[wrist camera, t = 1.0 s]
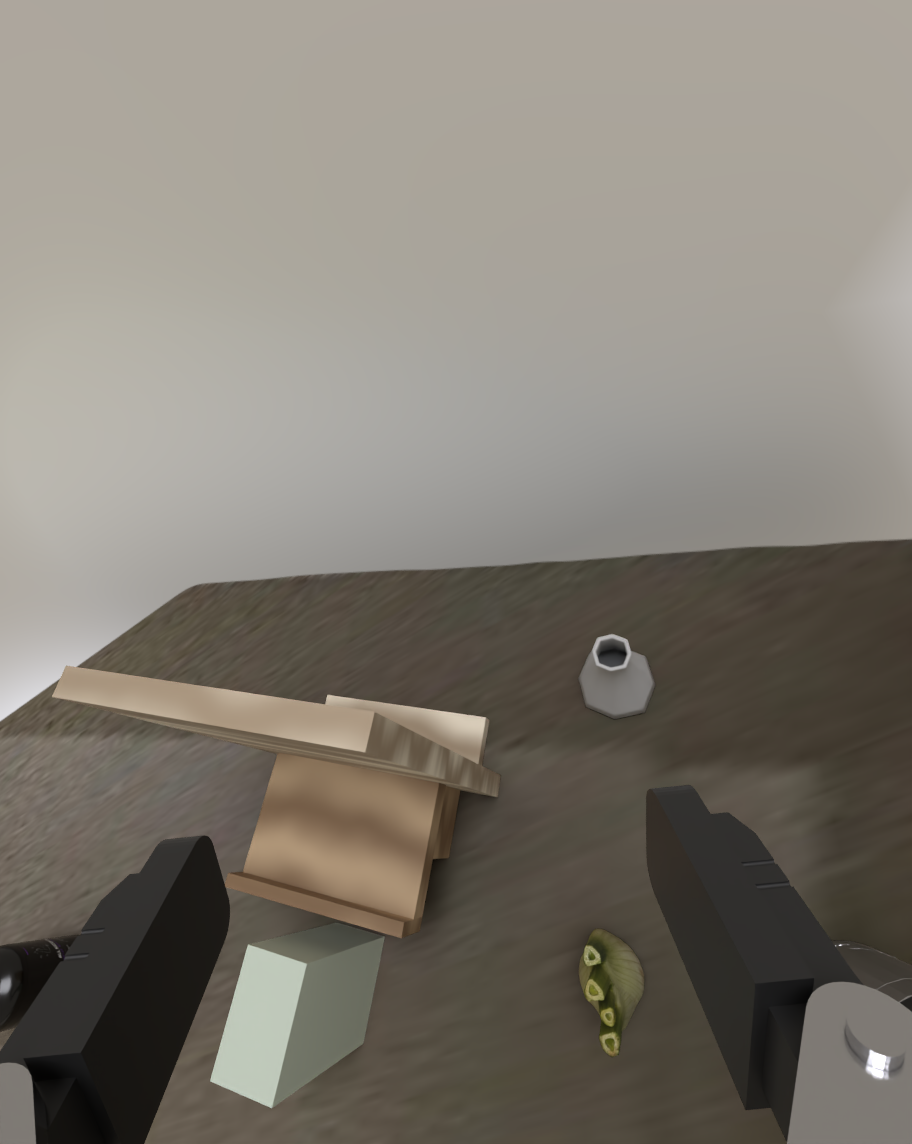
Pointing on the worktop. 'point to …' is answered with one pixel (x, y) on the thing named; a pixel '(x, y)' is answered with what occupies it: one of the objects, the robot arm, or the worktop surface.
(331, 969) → the cabinet
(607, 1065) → the worktop surface
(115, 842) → the worktop surface
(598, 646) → the flask
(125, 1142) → the robot arm
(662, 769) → the worktop surface
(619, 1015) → the fennel bulb
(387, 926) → the wooden display stand
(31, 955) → the supplement bottle
